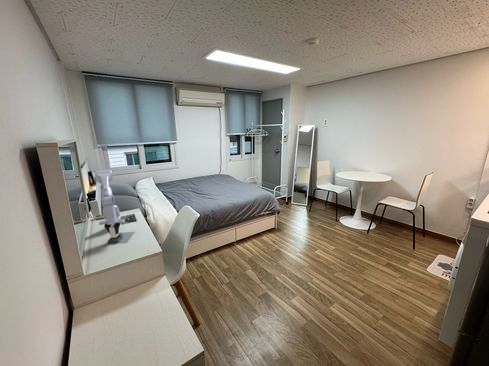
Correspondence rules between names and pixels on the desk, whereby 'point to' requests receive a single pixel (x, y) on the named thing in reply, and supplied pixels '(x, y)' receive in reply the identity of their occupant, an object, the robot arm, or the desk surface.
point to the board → (124, 237)
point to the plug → (113, 232)
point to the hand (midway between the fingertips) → (114, 233)
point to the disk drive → (129, 218)
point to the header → (115, 240)
